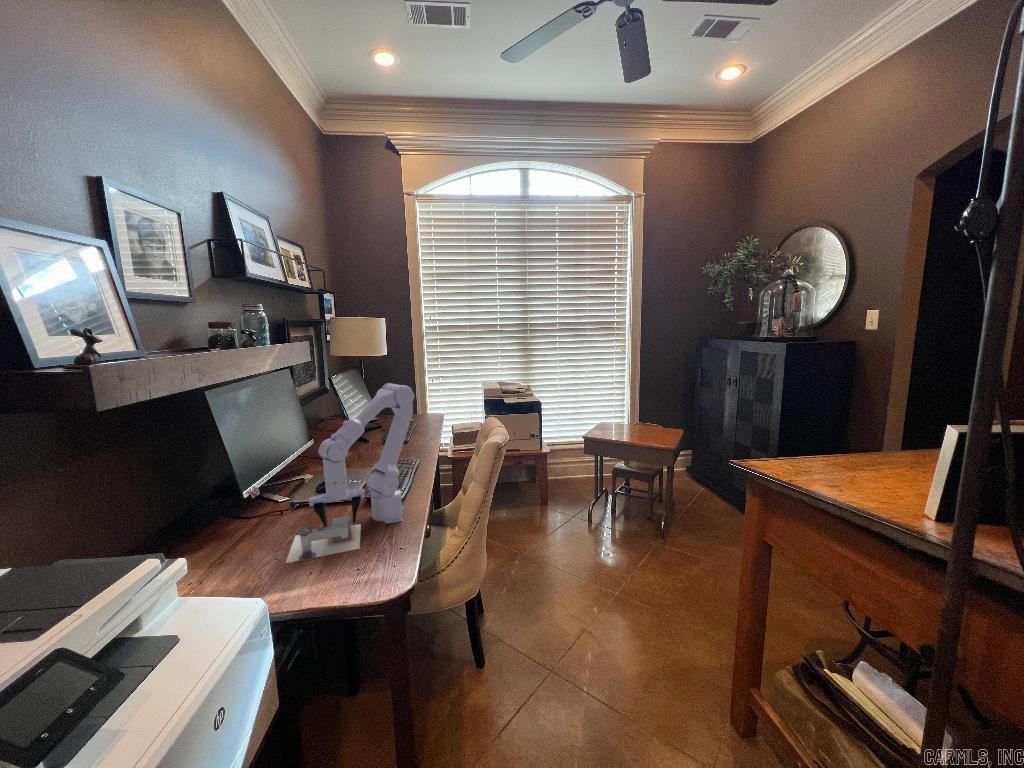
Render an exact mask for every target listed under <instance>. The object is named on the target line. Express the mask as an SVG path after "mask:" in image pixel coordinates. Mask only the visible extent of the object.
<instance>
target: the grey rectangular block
mask: <svg viewBox="0 0 1024 768" xmlns="http://www.w3.org/2000/svg"><path fill="white" fill-rule="evenodd" d="M351 519H352V518H351V515H345V516H340V517H335V518H332V519H331V526H333V525H338V524H341V521H346V520H348V537H347V538H342V539H341V536H338V537H333V538H332V542H333V543H337V542H341V541H346V540H351V539H352V530H351V526H352V521H351Z"/></svg>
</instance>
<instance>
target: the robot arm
mask: <svg viewBox="0 0 1024 768" xmlns="http://www.w3.org/2000/svg"><path fill="white" fill-rule="evenodd" d="M371 399H372V400H370V401H369V403H368V404H366V406H365V407H364V408H363V409H362V411H361V412H360V413H359V414H358V415H357V416H356V417H355V418H348V420H344V422H342V426H341V427H340V428H338V430H337V431H335V433H332V434H331V436H330V438H327V439H325V440H323V441H322V442H321V444H320V445H319V448H318V449H317V453H318V455H319V456H320V457H321V458H322V465H323V476H324V484H325V493H323V494H319V495H315V496H310V497H309V499H308V503H309V504H308V505H309V507H313V511H314V512H315V514H316V515H317V516H318V517H319V519H320V521H321V523H322V525H323V527H327V526H328V518H327V512H326V511H327V510H326V508H327V507H326V504H327V503H334V502H340V501H346V500H351V510H352V523H356V521H357V520H356V518H357V513H358V510H359V506H360V505H361V502H362V499H364V498H365V489H364V488H361V489H360V488H359V489H349V488H348V478H347V467H346V460H345V459H346V458H347V457H348V454H349V450H350V448H351V447H352V445H354V443H355V442H356V441H357V440H358V439H360V437H361V436H362V435H363V434H364V433H365V427H366V425H367V424H368V423H369V422H370V421H371V420H373V419H374V418H375V417H376V416H377V415H378V414H379V413H380V412H382V410H383V409H386V408H391V410H392V412H393V413H394V416H393V418H392V422H391V424H390V427H389V429H388V434H387V436H386V440H385V443H384V446H383V447H382V451H381V454H380V458H379V460H378V461H377V462H376V463H374V464H373V465H372V468H371V470H370V471H369V473H367V475H366V478H365V484H366V487H368V489H369V491H370V502H371V503H370V504H371V516H372V520H374V521H376V522H384V525H388V524H392V523H398V522H399V523H400V522H403V521H404V519H403V517H404V516H403V515H404V514H403V512H404V506H403V503H402V502H403V501H402V493H401V492H402V491H401V490H400V489H398V488H399V487H398V486H399V476H400V471H399V468H398V466H397V464H398V460H399V458H400V455H401V451H402V449H403V445H404V442H405V440H406V436H407V433H408V430H409V427H410V424H411V420H412V417H413V416H414V415H413V414H414V403H413V402H414V399H415V394H414V392H413V389H412V388H411V387H410V386H409V385H401V384H395V383H393V382H388V383H384V385H382V386H381V388H380V389H378V390H377V392H376V394H375V396H374V397H373V398H371Z"/></svg>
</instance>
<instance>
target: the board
mask: <svg viewBox="0 0 1024 768" xmlns="http://www.w3.org/2000/svg"><path fill="white" fill-rule="evenodd" d="M351 530H352V539H351V540H346V541H341V542H337V543H333V542H332V538H327V539H322V540H317V541H312V542H311V545H312V556H311V557H309V558H302V549H301V540H300V535H298V534H297V535H294V538H293V540H292V544H291V547H290V549H289V552H288V555H287V557H286V560H285V564H290V563H294V562H298V561H300V562H307V561H311V560H312V559H314V558H319V557H323V556H324V557H325V556H329V555H334V554H340V553H343V552H345V553H346V552H349V551H355V550H359V549H361V532H362V531H361V530H362V524H361V523H359V524H355V525H354V524H351Z"/></svg>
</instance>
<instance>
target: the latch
mask: <svg viewBox="0 0 1024 768" xmlns="http://www.w3.org/2000/svg"><path fill="white" fill-rule="evenodd" d="M297 535H300V540H301V549H302V558H309V557H311V556H312V545H311V542H312V541H317V540H322V539H327V538H333V537H338V536H341V539H342V538H347V537H348V520H346V521H341V524H338V525H333V526H332V525H329V526H328V525H327V527H324V526H323V527H317V528H313V529H312V527H311V526H302V527H301V528H299V529H298V530H297Z"/></svg>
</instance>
